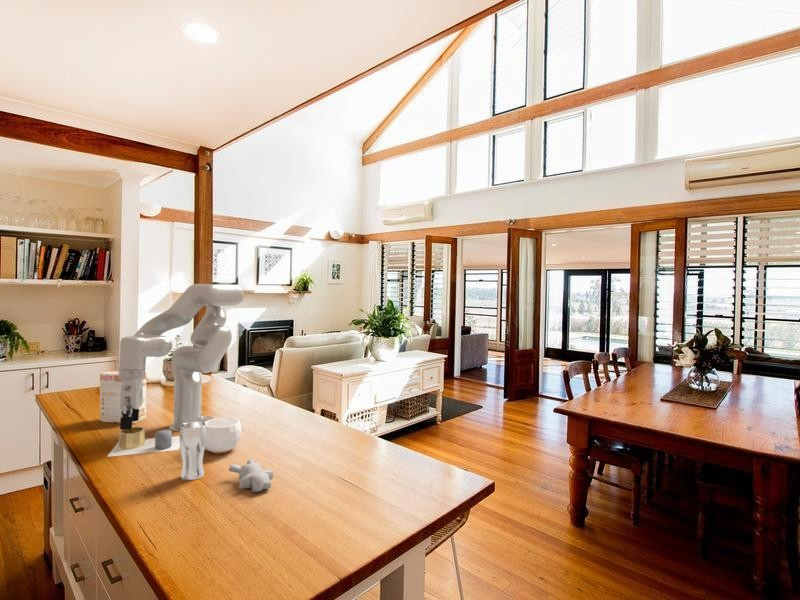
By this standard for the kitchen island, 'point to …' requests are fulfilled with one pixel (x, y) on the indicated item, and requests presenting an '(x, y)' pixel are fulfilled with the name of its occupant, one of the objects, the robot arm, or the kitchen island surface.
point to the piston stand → (151, 445)
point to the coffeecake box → (115, 398)
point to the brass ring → (132, 438)
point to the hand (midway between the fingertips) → (129, 424)
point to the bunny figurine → (253, 476)
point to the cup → (222, 434)
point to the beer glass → (192, 449)
